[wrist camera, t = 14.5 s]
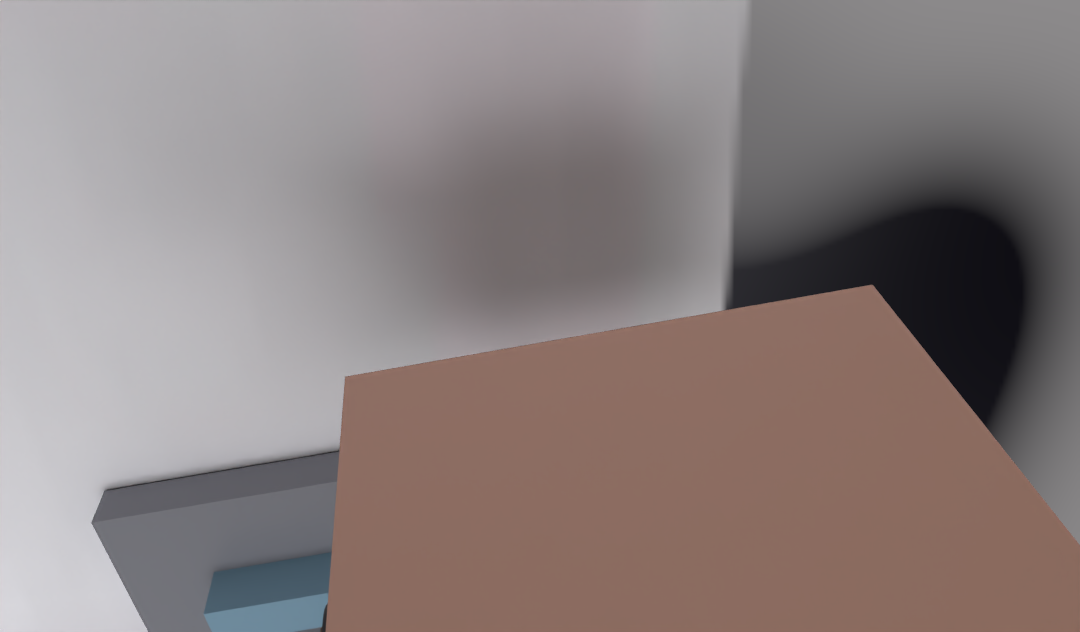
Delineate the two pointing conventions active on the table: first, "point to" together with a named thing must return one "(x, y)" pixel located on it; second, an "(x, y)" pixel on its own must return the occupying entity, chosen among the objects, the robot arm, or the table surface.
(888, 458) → the terracotta block
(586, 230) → the table surface
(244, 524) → the baseplate
